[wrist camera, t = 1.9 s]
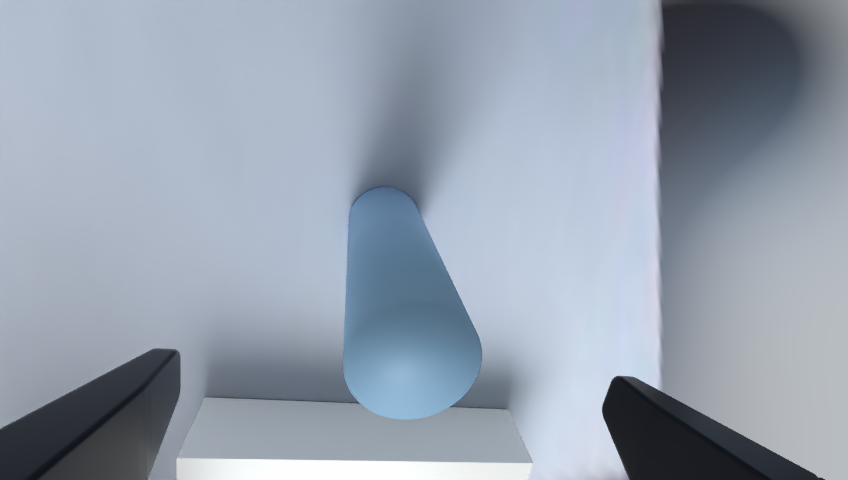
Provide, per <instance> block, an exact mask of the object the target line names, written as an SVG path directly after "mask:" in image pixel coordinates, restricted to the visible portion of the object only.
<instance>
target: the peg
mask: <svg viewBox="0 0 848 480" xmlns="http://www.w3.org/2000/svg"><path fill="white" fill-rule="evenodd" d="M481 361H482V349H481V343H480V339H479V337H478V334H477V332H476V330H475V328H474V326H473V324H472V322H471V320H470V318H469V315H468V313H467V311H466V309H465V307H464V305H463V303H462V301H461V299H460V297H459V295H458V293H457V290H456V288H455V286H454V284H453V282H452V280H451V278H450V276H449V274H448V272H447V270H446V267H445V265H444V263H443V261H442V259H441V257H440V255H439V253H438V251H437V249H436V247H435V244H434V242H433V240H432V238H431V236H430V234H429V232H428V230H427V228H426V226H425V224H424V221H423V219H422V217H421V215H420V213H419V211H418V209H417V207H416V205H415V203H414V202H413V200H412V199H411V198H410V197H409V196H408V195H407V194H406V193H404V192H403V191H401V190H398V189H396V188H392V187H378V188H374V189H371V190H368V191H366V192H365V193H363V194H362V195H361V196H360V197H359V198H358V199H357V200H356V201H355V202H354V204H353V206H352V208H351V210H350V214H349V225H348V250H347V276H346V302H345V327H344V353H343V373H344V378H345V382H346V384H347V386H348V389H349V390H350V392H351V393H352V395H353V396H354V397H355V399H356V400H357V401H358V402H359V403H360V404H362V405H363V406H364V407H365V408H367V409H369V410H370V411H372V412H374V413H376V414H378V415H381V416H384V417H388V418H393V419H403V420H404V419H418V418H424V417H428V416H431V415H434V414H437V413H439V412H441V411H443V410H445V409H447V408H449V407H450V406H452V405H453V404H455V403H456V402H457V401H459V400H460V399H461V398H462V397H463V396H464V395H465V394H466V393H467V392H468V390H469V389H470V388H471V386H472V385H473V383H474V382H475V380H476V378H477V376H478V373H479V370H480V367H481Z"/></svg>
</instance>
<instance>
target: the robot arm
mask: <svg viewBox="0 0 848 480" xmlns="http://www.w3.org/2000/svg"><path fill="white" fill-rule="evenodd" d="M179 393H180V353H179V352H178V351H177V350H175V349H160V348H155V349H152V350H150V351H148V352H146V353H144V354H142V355H140V356H138V357H136V358H135V359H133V360H131V361H129V362H127V363H125V364H123V365H121V366H119V367H117V368H115V369H114V370H112V371H110V372H108V373H106V374H104V375H102V376H100V377H98V378H96V379H94V380H93V381H91V382H89V383H87V384H85V385H83V386H81V387H79V388H77V389H75V390H73V391H72V392H70V393H68V394H66V395H64V396H62V397H60V398H58V399H56V400H54V401H52V402H51V403H49V404H47V405H45V406H43V407H41V408H39V409H37V410H35V411H33V412H31V413H30V414H28V415H26V416H24V417H22V418H20V419H18V420H16V421H14V422H12V423H10V424H9V425H7V426H5V427H3V428H1V429H0V480H147V479H148V477H149V474H150V472H151V469H152V467H153V464H154V461H155V459H156V456H157V454H158V451H159V448H160V446H161V443H162V440H163V438H164V435H165V433H166V430H167V427H168V425H169V422H170V419H171V417H172V414H173V412H174V409H175V406H176V404H177V401H178V398H179ZM602 413H603V417H604V420H605V422H606V425H607V427H608V430H609V432H610V434H611V437H612V439H613V442H614V444H615V446H616V449H617V451H618V454H619V456H620V459H621V461H622V463H623V466H624V468H625V471H626V473H627V475H628V477H629V480H825V479H823V478H818V477H817V476H816V475H815V474H813V473H812V472H809V471H808V470H806V469H804V468H802V467H800V466H798V465H797V464H795V463H793V462H791V461H789V460H787V459H785V458H783V457H782V456H780V455H778V454H776V453H774V452H772V451H771V450H769V449H767V448H765V447H763V446H761V445H759V444H758V443H756V442H754V441H752V440H750V439H748V438H746V437H744V436H743V435H741V434H739V433H737V432H735V431H733V430H732V429H730V428H728V427H726V426H724V425H722V424H720V423H718V422H717V421H715V420H713V419H711V418H709V417H707V416H705V415H703V414H702V413H700V412H698V411H696V410H694V409H692V408H691V407H689V406H687V405H685V404H683V403H681V402H679V401H678V400H676V399H674V398H672V397H670V396H668V395H666V394H665V393H663V392H661V391H659V390H657V389H655V388H653V387H652V386H650V385H648V384H646V383H644V382H642V381H640V380H639V379H637V378H635V377H630V376H616V377H614V378H613V380H612V381H611V384H610V387H609V389H608V392H607V395H606V397H605V400H604V403H603V406H602Z"/></svg>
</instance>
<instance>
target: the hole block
mask: <svg viewBox="0 0 848 480" xmlns="http://www.w3.org/2000/svg"><path fill="white" fill-rule="evenodd" d="M532 466H533V461H532V459H531V457H530V455H529V453H528V451H527V449H526V446H525V444H524V442H523V440H522V438H521V436H520V433H519V431H518V429H517V427H516V425H515V423H514V420H513V418H512V416H511V414H510V412H509V410H508V409H485V408H460V407H449V408H447V409H445V410H443V411H441V412H439V413H437V414H434V415H431V416H428V417H424V418H418V419H404V420H403V419H393V418H388V417H384V416H381V415H378V414H376V413H374V412H372V411H370V410H369V409H367V408H365V407H364V406H363V405H362V404H360V403H335V402H310V401H285V400H260V399H235V398H210V397H205V398H204V400H203V402H202V404H201V406H200V409H199V411H198V413H197V415H196V417H195V419H194V421H193V424H192V426H191V428H190V430H189V432H188V434H187V436H186V439H185V441H184V443H183V445H182V447H181V449H180V451H179V454H178V456H177V458H176V475H177V480H528V478H529V475H530V472H531V469H532Z"/></svg>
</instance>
